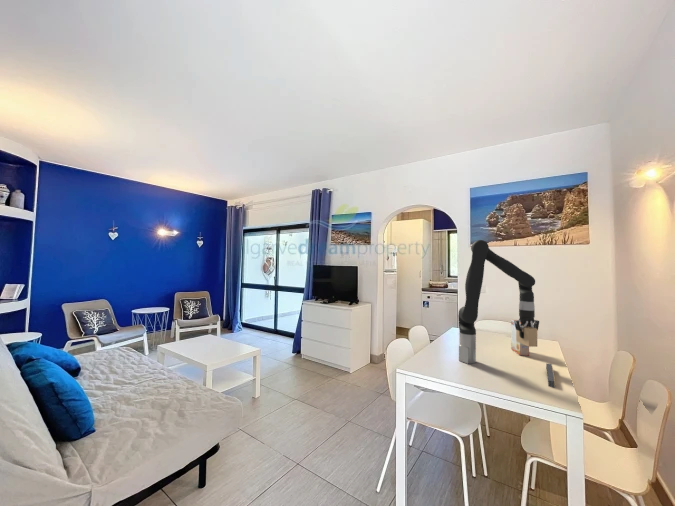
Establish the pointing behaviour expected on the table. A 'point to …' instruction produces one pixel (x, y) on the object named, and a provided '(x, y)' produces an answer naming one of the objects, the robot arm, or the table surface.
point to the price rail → (550, 375)
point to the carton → (528, 337)
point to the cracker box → (515, 345)
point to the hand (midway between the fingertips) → (526, 337)
